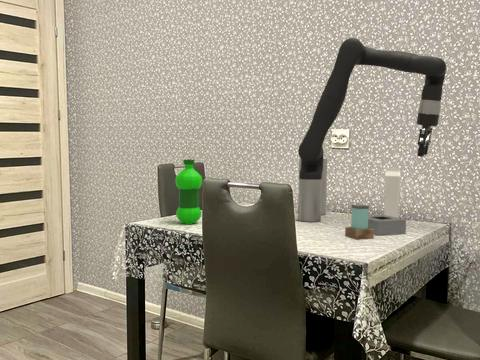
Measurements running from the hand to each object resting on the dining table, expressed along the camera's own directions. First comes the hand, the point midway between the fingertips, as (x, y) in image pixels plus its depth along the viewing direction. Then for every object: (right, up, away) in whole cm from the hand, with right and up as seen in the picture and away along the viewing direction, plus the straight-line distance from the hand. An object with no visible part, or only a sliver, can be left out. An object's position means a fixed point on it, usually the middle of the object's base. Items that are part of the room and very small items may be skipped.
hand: (422, 155), depth 181 cm
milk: (-6, -26, +19) cm, 33 cm away
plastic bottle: (-90, -27, +6) cm, 94 cm away
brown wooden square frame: (-29, -29, -18) cm, 44 cm away
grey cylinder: (-37, -25, +36) cm, 57 cm away
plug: (-29, -29, -18) cm, 44 cm away
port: (-18, -28, -8) cm, 34 cm away
